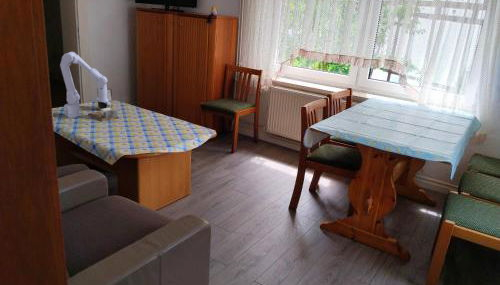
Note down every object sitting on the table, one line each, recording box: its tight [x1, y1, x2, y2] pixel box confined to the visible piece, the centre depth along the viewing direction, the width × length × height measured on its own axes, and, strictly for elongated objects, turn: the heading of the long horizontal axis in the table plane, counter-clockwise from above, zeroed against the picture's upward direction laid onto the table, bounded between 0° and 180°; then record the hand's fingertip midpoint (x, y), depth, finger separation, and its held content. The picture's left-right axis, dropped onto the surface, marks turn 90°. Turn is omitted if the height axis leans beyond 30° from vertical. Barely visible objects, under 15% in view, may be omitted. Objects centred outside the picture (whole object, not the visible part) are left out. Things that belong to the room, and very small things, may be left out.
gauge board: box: [87, 109, 120, 122], centre depth 277 cm, size 13×18×6 cm
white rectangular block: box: [100, 108, 111, 117], centre depth 274 cm, size 9×3×5 cm, turn 141°
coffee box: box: [96, 87, 113, 110], centre depth 294 cm, size 9×6×16 cm
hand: (103, 112), depth 277 cm, fingers closed
